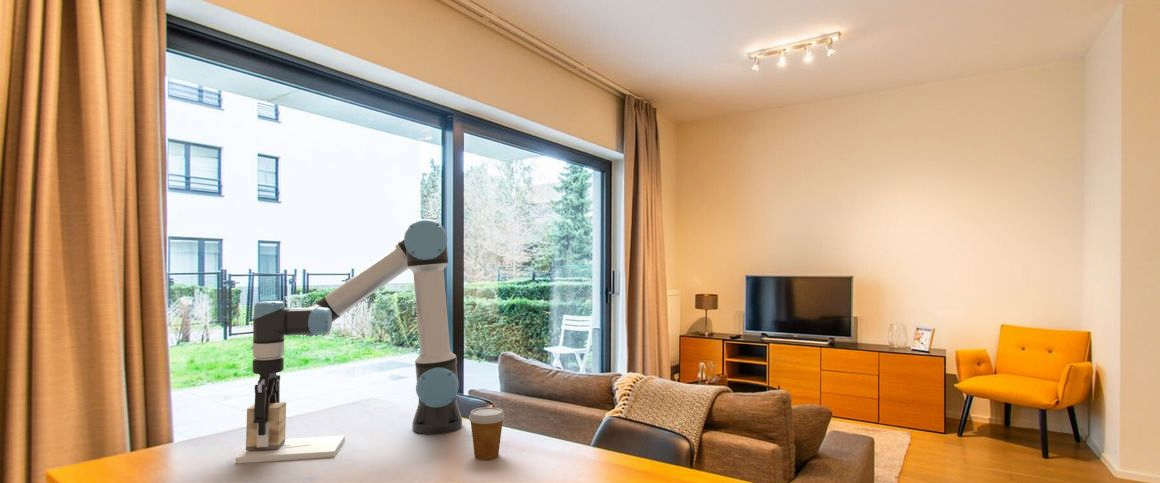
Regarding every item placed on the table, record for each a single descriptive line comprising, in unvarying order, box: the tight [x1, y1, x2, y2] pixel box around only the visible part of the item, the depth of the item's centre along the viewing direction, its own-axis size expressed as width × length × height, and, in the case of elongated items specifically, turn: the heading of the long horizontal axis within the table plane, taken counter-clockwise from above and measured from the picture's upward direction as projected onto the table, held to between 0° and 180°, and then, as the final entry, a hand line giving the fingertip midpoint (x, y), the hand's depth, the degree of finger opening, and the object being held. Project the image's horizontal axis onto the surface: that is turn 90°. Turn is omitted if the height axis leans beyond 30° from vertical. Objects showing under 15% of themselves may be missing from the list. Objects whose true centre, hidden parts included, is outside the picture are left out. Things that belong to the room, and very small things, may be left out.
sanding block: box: [245, 401, 287, 450], centre depth 156 cm, size 8×6×11 cm
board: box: [235, 435, 346, 464], centre depth 157 cm, size 24×14×2 cm, turn 102°
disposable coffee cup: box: [468, 406, 505, 461], centre depth 153 cm, size 10×10×12 cm
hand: (266, 442), depth 156 cm, fingers closed on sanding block, 6 cm apart
